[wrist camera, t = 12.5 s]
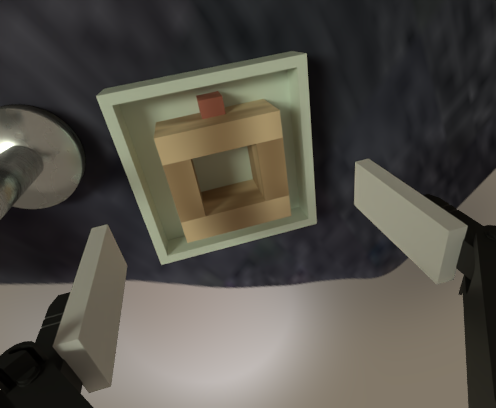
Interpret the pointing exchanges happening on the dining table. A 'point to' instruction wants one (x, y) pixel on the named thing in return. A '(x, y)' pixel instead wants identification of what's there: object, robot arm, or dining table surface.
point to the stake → (37, 158)
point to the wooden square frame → (218, 140)
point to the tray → (219, 164)
